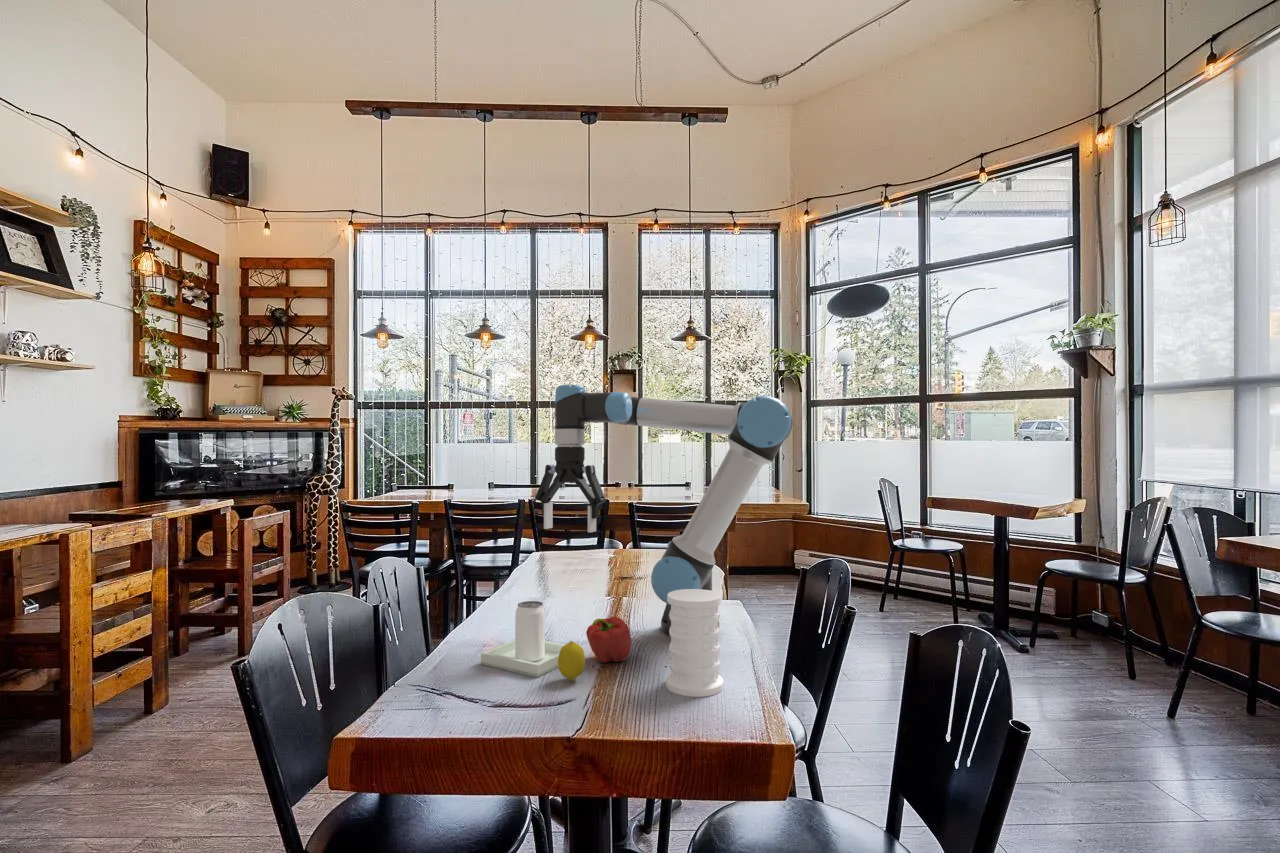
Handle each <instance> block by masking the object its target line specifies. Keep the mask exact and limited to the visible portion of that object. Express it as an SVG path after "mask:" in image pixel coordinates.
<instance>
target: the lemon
mask: <svg viewBox="0 0 1280 853" xmlns="http://www.w3.org/2000/svg"><path fill="white" fill-rule="evenodd" d="M585 666H586V654H585V651H584V648H583V647H582V646H581V645H580V644H579V643H576V642H575V641H573V640H571V641H569V642H567V643H566V644H565V645H564V646H563V647H562V648H561V650H560V653H559V657H558V667H559V668H558V671H559V673H560V674H561V675H562V676H563V677H565V678H567V679H568V680H569V681H570V682H572V681H574V680H575V679H576V678H578V677H580V676H581V675H582V674H583V672H584V670H585Z"/></svg>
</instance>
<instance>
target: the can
mask: <svg viewBox="0 0 1280 853" xmlns="http://www.w3.org/2000/svg"><path fill="white" fill-rule="evenodd" d="M543 605H544V603H543V602H542V601H538V600H527V601H522V602H519V603H517V607H516V610H515V616H514V617H515V618H514V619H515V626H514V627H515V629H514V630H515V631H514V632H515V636H514V638H515V639H514V640H515V658H516V659H520V660H525V661H530V662H537V661H540V660H542V659H543V657H544V654H545V641H546V638H545V637H546V634H545V633H546V631H545V630H546V624H545V622H546V619H545V618H546V616H545V611H546V610H545V608H544V606H543Z"/></svg>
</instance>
